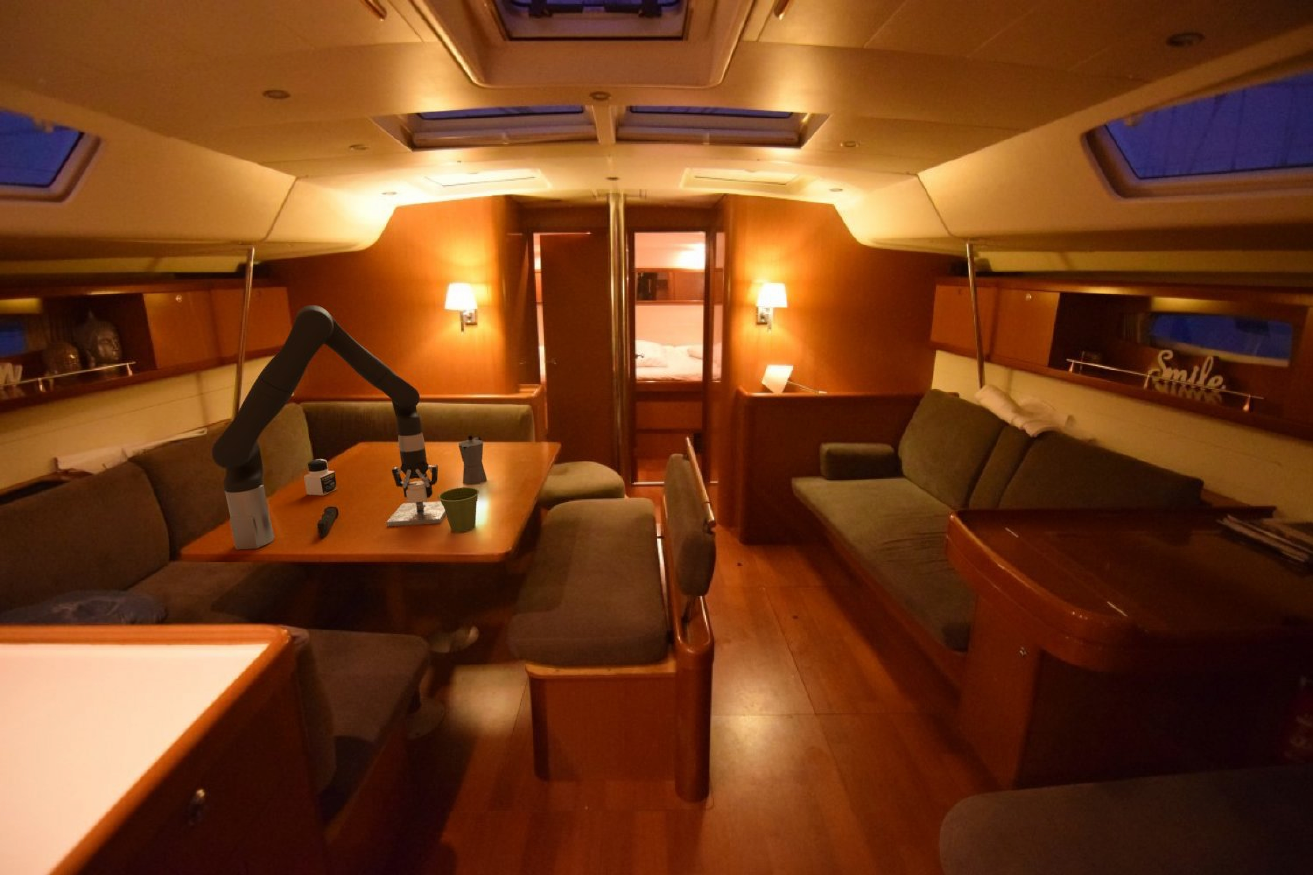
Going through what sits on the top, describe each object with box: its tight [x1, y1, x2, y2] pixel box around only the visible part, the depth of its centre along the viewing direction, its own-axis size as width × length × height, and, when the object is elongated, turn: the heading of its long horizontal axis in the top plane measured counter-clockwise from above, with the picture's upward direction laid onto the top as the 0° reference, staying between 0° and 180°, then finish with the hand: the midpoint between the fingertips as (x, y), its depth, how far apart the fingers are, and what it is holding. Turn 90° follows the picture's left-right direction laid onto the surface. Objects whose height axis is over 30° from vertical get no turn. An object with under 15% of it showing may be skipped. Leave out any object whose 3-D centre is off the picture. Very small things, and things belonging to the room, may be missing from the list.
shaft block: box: [386, 500, 446, 527], centre depth 192 cm, size 16×16×5 cm
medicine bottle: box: [303, 458, 338, 496], centre depth 215 cm, size 7×7×12 cm
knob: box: [406, 480, 429, 503], centre depth 190 cm, size 6×6×5 cm
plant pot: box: [438, 486, 480, 533], centre depth 180 cm, size 12×12×11 cm
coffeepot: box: [458, 434, 487, 486], centre depth 224 cm, size 15×9×18 cm, turn 174°
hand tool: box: [316, 506, 340, 539], centre depth 183 cm, size 19×4×5 cm, turn 17°
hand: (418, 497), depth 191 cm, fingers closed on knob, 5 cm apart
